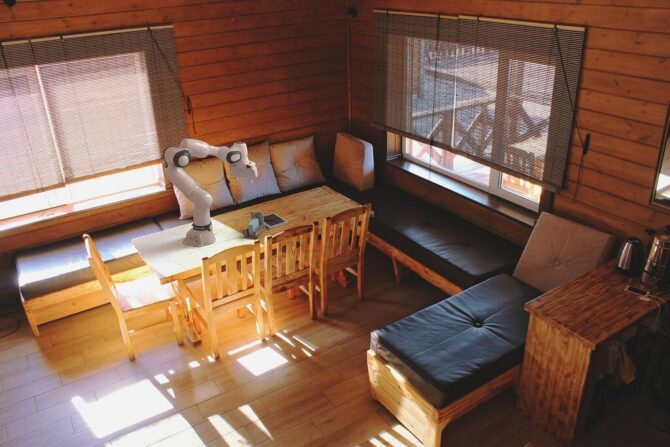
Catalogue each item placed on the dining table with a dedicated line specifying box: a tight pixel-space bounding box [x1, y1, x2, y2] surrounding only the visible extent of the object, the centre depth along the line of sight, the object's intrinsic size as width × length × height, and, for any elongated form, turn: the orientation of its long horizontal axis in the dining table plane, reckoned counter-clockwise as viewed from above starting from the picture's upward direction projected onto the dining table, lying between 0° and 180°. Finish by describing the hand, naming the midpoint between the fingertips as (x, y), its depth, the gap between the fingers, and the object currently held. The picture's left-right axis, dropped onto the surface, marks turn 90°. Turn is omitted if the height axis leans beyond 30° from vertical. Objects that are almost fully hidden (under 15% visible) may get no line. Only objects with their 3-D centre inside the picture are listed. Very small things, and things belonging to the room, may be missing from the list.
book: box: [247, 218, 259, 235], centre depth 405 cm, size 4×11×8 cm, turn 164°
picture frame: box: [263, 212, 289, 230], centre depth 424 cm, size 16×3×21 cm
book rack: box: [243, 210, 266, 240], centre depth 405 cm, size 10×15×14 cm, turn 164°
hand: (244, 182), depth 406 cm, fingers open, 8 cm apart
